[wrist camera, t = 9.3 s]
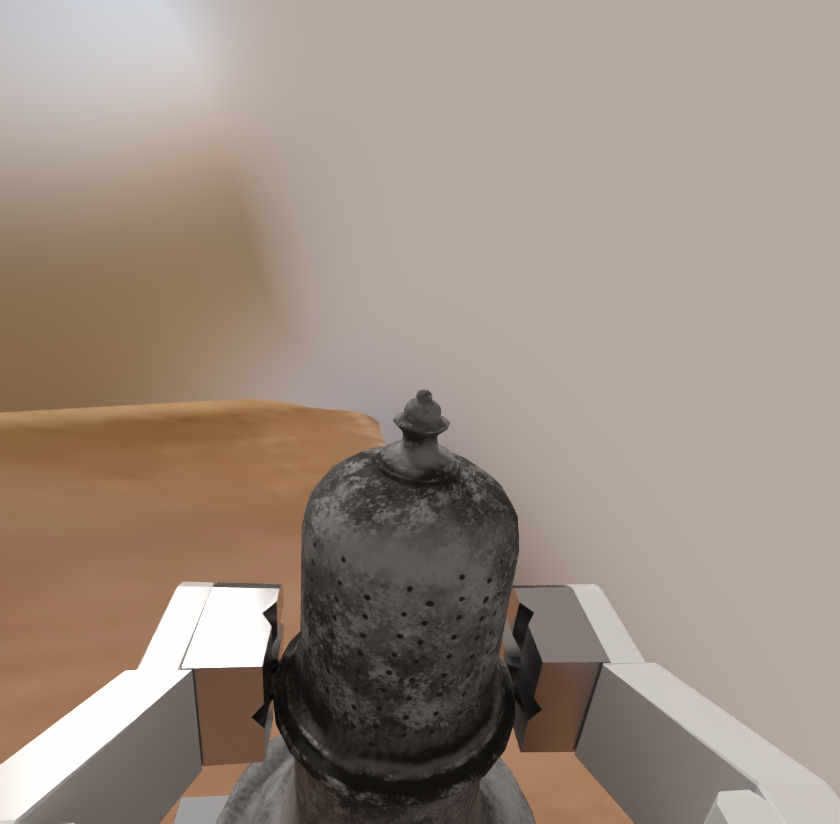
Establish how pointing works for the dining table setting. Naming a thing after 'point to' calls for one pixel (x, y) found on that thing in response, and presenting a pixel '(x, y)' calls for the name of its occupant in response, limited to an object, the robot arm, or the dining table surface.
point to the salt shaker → (396, 647)
